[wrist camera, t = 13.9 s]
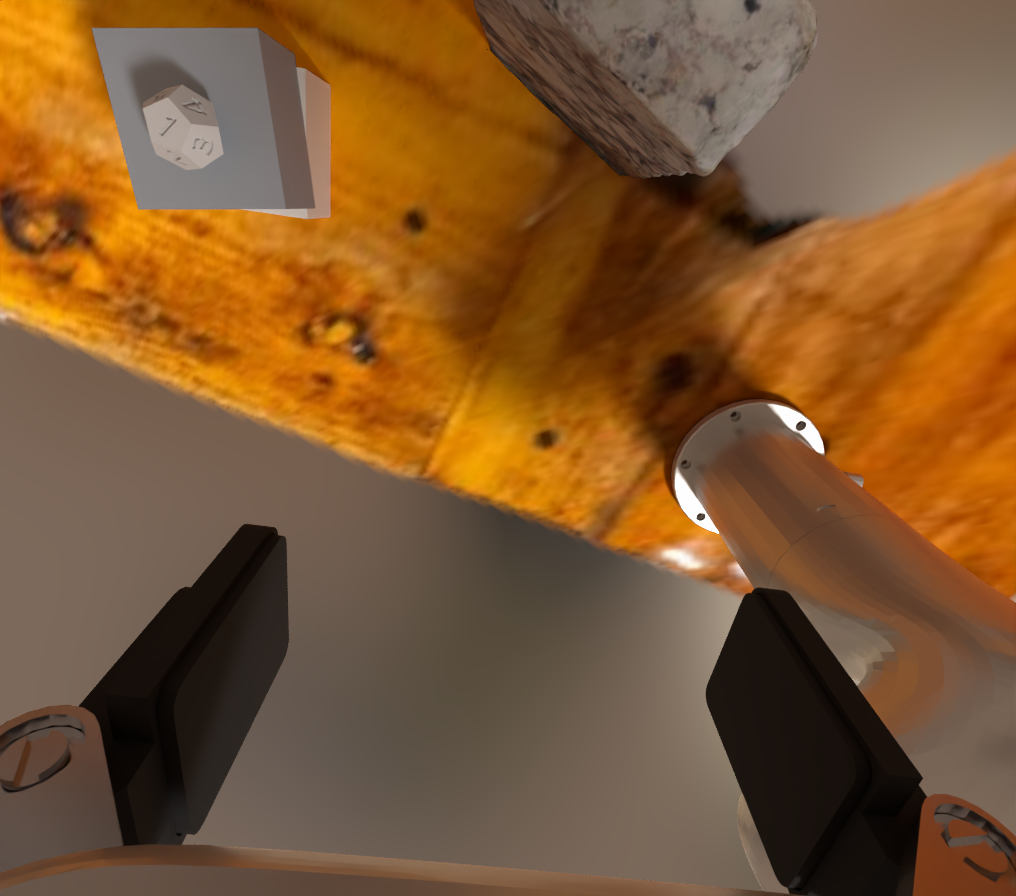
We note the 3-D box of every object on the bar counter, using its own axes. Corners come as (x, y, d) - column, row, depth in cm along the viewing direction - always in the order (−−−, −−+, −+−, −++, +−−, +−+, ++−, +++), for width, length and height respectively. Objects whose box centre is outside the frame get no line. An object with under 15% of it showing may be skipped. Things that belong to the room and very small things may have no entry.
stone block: (466, 66, 35) (420, -84, 17) (528, -49, 33) (555, -370, 14) (624, 194, 38) (732, 186, 20) (692, 98, 36) (886, -13, 17)
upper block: (294, 54, 31) (257, 27, 26) (315, 208, 34) (285, 209, 29) (153, 54, 31) (91, 27, 26) (188, 208, 34) (138, 209, 29)
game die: (149, 126, 28) (110, 118, 25) (196, 74, 27) (161, 59, 24) (203, 187, 29) (172, 185, 26) (250, 138, 28) (223, 131, 25)
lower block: (331, 85, 35) (305, 68, 31) (330, 217, 39) (307, 218, 34) (206, 66, 35) (161, 45, 30) (216, 200, 38) (177, 200, 34)
